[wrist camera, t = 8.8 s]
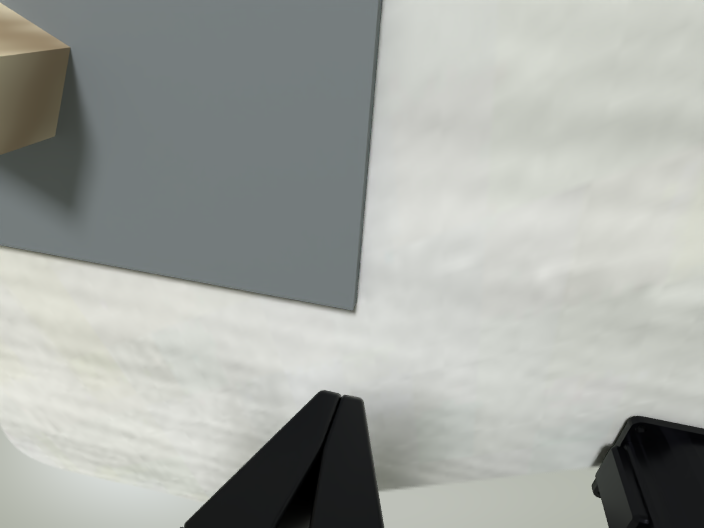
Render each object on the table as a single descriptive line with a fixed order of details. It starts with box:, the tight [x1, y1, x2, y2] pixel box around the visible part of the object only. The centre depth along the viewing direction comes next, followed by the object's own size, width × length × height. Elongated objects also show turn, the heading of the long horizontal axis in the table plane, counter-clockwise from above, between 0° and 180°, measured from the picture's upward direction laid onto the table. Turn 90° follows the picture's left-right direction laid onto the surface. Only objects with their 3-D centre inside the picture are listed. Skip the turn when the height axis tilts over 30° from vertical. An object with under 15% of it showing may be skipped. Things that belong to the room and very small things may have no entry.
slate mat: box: [0, 0, 382, 310], centre depth 21 cm, size 22×16×1 cm
